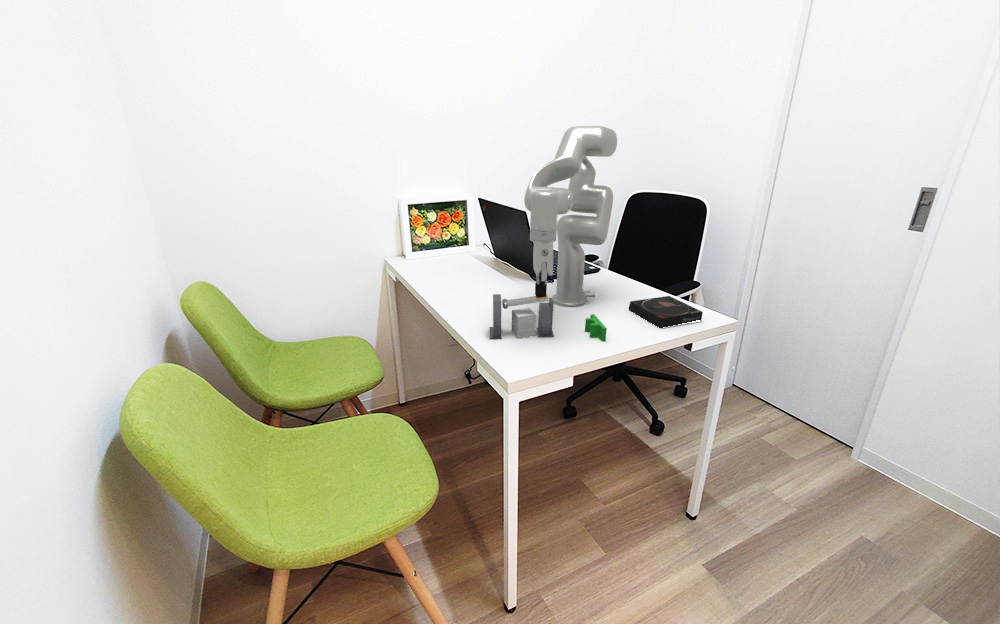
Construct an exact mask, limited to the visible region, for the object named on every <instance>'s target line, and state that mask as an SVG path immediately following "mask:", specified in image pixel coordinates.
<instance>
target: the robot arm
mask: <svg viewBox="0 0 1000 624" xmlns="http://www.w3.org/2000/svg"><path fill="white" fill-rule="evenodd" d="M617 146H618V137H617V133H616V131H615V130H614V129H612V128H609V127H606V126H604V125H603V126H601V125H600V126H599V125H577V126H576V125H575V126H571V127H569V128H567V130H565V132H564V134H563V135H562V139H561V141H560V144H559V146H558V149H557V152H556V153H555V157H554V159H551V160H550V161H549V162H547V163H546V164H544V165H543V166H542V167H540V168H539V169H538V170H536V171H535V173H534V174H533V175H532V176H531V178H530V181H529V182H528V185H527V188H526V191H525V194H524V200H523V202H524V206H525V209H526V210H527V211H529V212H530V219H529V222H530V224H529V240H530V242H533V248H532V249H533V252H532V257H533V258H532V264H533V266H532V267H533V271H534V273H535V287H534V290H535V291H534V294H535V295H534V296H536V297H544V296H546V294H547V288H548V287H547V286H548V284H547V281H548V280H547V279H548V276H549V277H553V276H554V243H555V242H556V241H557V244H558V245H557V270H556V272H557V273H556V291H555V294H553V295H552V296H551V298H552V300H553V304H556V305H558V306H561V307H568V308H569V307H572V308H573V307H574V308H575V307H580V306H583V305H585V304H586V302H587V298H596V292H595V291H591V290H584V289H583V288H584V276H585V263H586V254H585V252H584V250H583V247H582V245H581V244H583V245H591V246H592V245H593V246H601V245H603V244H604V243H605V242H606V240H607V238H608V233H609V228H610V224H611V223H610V222H611V217H612V210H613V204H614V193H613V189H611V187H609V186H607V185H602V184H601V185H600V184H599V185H596V184H595V181H596V169H595V167H594V166H593V164H592V163H591V161H590V160H589V159H588V157H604V158H606V157H611V156H613V155H614V154H615V151H616V150H617ZM568 179H569V183H568V188H566V187H555V186H554V187H553V186H551V185H553V184H556V183H559V182H562V181H566V180H568ZM569 212H574V213H581V214H580V215H579V214H567V213H569ZM582 213H583V214H593V215H596V216H591V215H582ZM558 215H563V216H561V217H560V218H559V219H558Z"/></svg>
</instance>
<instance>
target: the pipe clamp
mask: <svg viewBox="0 0 1000 624" xmlns="http://www.w3.org/2000/svg"><path fill="white" fill-rule="evenodd" d="M607 330H608V329H607V327H606V326H605V324H603V322H602V321H601V320H600V319H599V318H598V317H597V316H596V315H595V314H594V313H592V314H591V313H590V317H588V318H585V324H584V332H585V333H589V339H594V338H598V339H599V340H600V342H603V343H604V342H606V340H607V339H606V338H607Z"/></svg>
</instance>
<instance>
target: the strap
mask: <svg viewBox="0 0 1000 624" xmlns="http://www.w3.org/2000/svg"><path fill="white" fill-rule="evenodd" d="M545 302H549V297H548V294H547V293H546V296H544V297H536V295H533V296H526V297H519V298H514V299H513V298H511V299H506V298H503V299H501V305H502V308H503V309H504V310H506V309H508V308H510V307H515V306H522V305H529V304H535V303H536V304H537V303H545Z"/></svg>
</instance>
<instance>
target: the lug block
mask: <svg viewBox="0 0 1000 624" xmlns="http://www.w3.org/2000/svg"><path fill="white" fill-rule="evenodd" d="M553 316H554V302H553V300H552V297H548V301H546V302H538V323H537V324H538V325H537V326H538V327H536V334H537V338H555V334H554V332H553V331H554V330H553V320H554V319H553Z"/></svg>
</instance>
